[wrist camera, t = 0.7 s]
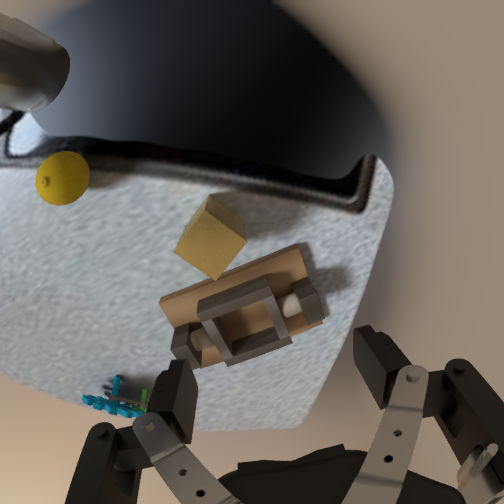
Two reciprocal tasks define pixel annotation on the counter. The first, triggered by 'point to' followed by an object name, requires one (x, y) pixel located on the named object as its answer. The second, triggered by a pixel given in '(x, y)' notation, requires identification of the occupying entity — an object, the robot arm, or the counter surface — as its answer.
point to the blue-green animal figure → (113, 402)
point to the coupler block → (211, 238)
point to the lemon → (62, 178)
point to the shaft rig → (243, 311)
